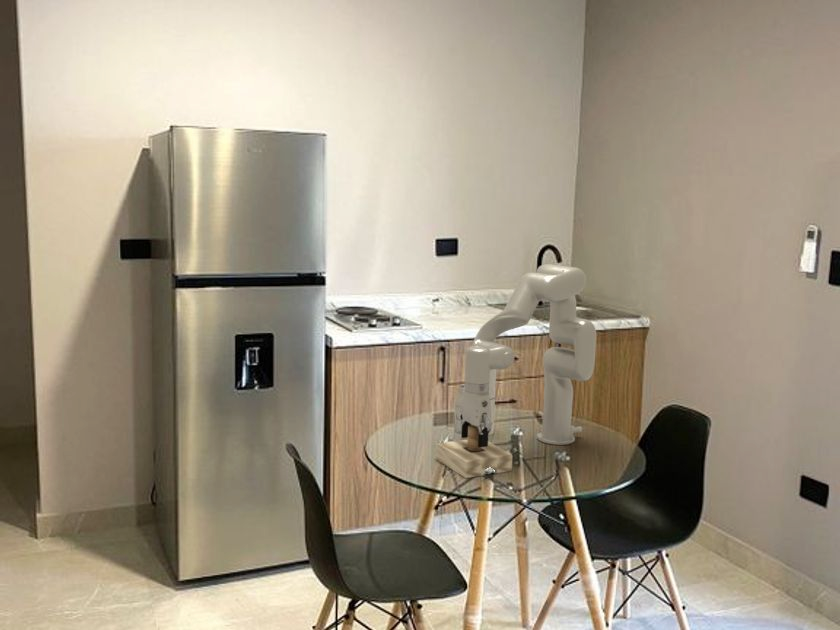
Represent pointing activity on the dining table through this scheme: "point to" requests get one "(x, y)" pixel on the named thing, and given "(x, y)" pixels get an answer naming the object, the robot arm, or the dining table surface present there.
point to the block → (473, 458)
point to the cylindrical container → (492, 396)
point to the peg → (473, 439)
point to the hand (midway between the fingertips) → (474, 441)
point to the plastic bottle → (458, 415)
